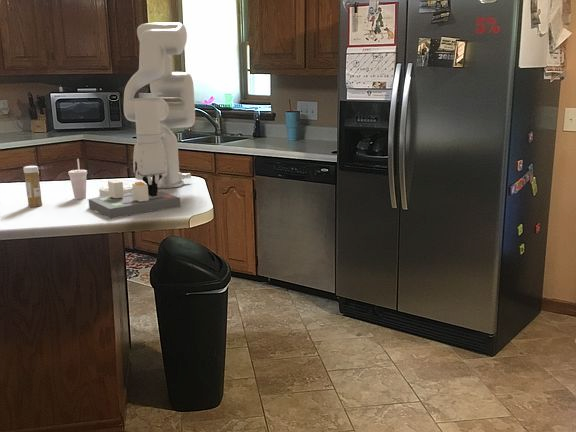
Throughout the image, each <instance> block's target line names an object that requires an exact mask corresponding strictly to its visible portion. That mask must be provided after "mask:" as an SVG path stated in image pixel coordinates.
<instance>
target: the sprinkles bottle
mask: <svg viewBox="0 0 576 432" xmlns="http://www.w3.org/2000/svg"><path fill="white" fill-rule="evenodd" d="M22 169H23V175H24V179H25V180H24V181H25V189H26V197H27V203H28V204H27V206H28V207H29V208H38V207H41V206H42V205H43V202H42V200H43V199H42V193H41V192H42V191H41V183H40V177H39V171H40V170H39V166H37V165H26V166H23V168H22Z"/></svg>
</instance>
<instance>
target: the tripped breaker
mask: <svg viewBox="0 0 576 432" xmlns="http://www.w3.org/2000/svg"><path fill="white" fill-rule="evenodd" d="M131 185H132V187H133V199H135V200H137V201H139V202H141V201H148V200H149V198H148V185H147V184H146V183H145V182H144V181H134V183H132V184H131Z"/></svg>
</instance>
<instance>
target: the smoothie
mask: <svg viewBox="0 0 576 432" xmlns="http://www.w3.org/2000/svg"><path fill="white" fill-rule="evenodd" d="M76 162H77V169H72V170H69V171H68V172H67V173H68V176H69V179H70V183H71V184H70V185H71V188H72V192H73V196H74V199H75V200H84V199H86V198H87V174H88V170H87V169H80V159H79V158H77V159H76Z"/></svg>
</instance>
